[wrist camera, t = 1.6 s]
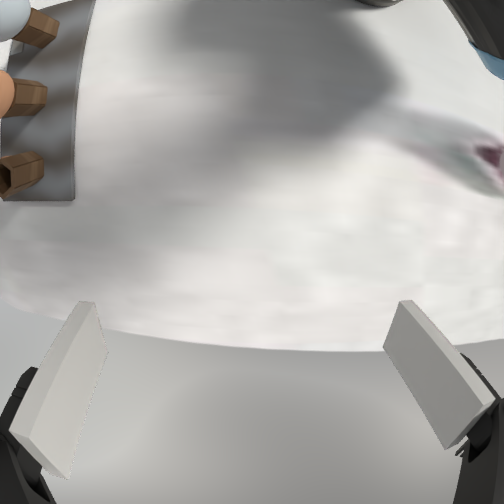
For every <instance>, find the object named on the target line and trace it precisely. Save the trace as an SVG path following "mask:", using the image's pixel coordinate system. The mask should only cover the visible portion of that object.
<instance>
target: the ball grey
mask: <svg viewBox="0 0 504 504" xmlns="http://www.w3.org/2000/svg"><path fill="white" fill-rule="evenodd" d="M30 12H31V5H30V2H29V0H0V42H3V41H7V40H9V39H11V38H13V37H14V36H15V35H17V34H18V33H19V32H20V31H21V30H22V29H23V27H24V26H25V25H26V23H27V21H28V19H29V16H30Z"/></svg>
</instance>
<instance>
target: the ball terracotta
mask: <svg viewBox="0 0 504 504" xmlns="http://www.w3.org/2000/svg"><path fill="white" fill-rule="evenodd" d="M14 92H15V88H14V83H13V80H12V78H11V76H10V75H9V74H8V73H6V72H5V71H2V70H0V119H1V118H2V117H3V116H4V115H5V114H6V112H7V111H8V110H9V108H10V106H11V104H12V101H13V98H14Z"/></svg>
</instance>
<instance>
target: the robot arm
mask: <svg viewBox="0 0 504 504" xmlns="http://www.w3.org/2000/svg"><path fill="white" fill-rule="evenodd" d="M356 1H359V2H361V3H364V4H368V5H372V6H379V7H385V6H392V5H395V4H397V3H399V2H401V1H402V0H356ZM443 1H444V3H445V4H446V5H447V7H448V8H449V10H450V11H451V12H452V14H453V15H454V17H455V18H456V20H457V21H458V23H459V25H460V26H461V28H462V29H463V31H464V33H465V34H466V36H467V38H468V41H469V43H470V45H471V46H472V47H473V48H474V49H475V50H476V52H477V53H478V55H479V57H480V58H481V60H482V62H483V64H484V65H485V67H486V68H487V69H488V70H489V71H490V72H491V73H492V74H494V75H495V76H497V77H498V78H500V79H502V80H504V0H443ZM383 348H384V350H385V351H386V353H387V354H388V356H389V358H390V359H391V361H392V362H393V364H394V365H395V367H396V369H397V370H398V372H399V373H400V375H401V377H402V378H403V380H404V381H405V383H406V385H407V386H408V388H409V389H410V391H411V393H412V394H413V396H414V398H415V399H416V401H417V403H418V404H419V406H420V408H421V409H422V411H423V413H424V414H425V416H426V417H427V420H428V421H429V423H430V425H431V426H432V428H433V430H434V432H435V434H436V435H437V437H438V439H439V440H440V442H441V444H442V446H443V448H444V450H446V449H448V448H450V447H452V446H454V445H456V444H458V443H459V442H460V441H461V440H462V439H463V438H464V437H465V436H466V435H467V437H468V440H467V441H466V442H465V443H464V444H463V445H462V446H461V447H460V448H459V450H457V451H456V454H455V456H457V455H458V454H459V453H461V451H463V450H464V452H463V453H462V454H461V455H460V457H463V459H462V465H461V470H460V475H459V480H458V485H457V489H456V493H455V498H454V501H453V504H504V398H503V399H501V397H500V396H499V395H498V394H497V392H496V391H495V390H494V389H493V387H492V386H491V385H490V383H489V382H488V381H487V380H486V378H485V377H484V376H483V375H481V374H482V373H481V372H480V371H479V370H478V369H476V368H477V367H476V366H475V365H474V364H473V362H472V361H471V360H470V359H469V358H467V357H466V356H465V355H463V354H461V353H459V352H458V351H457V350H456V348H455V347H454V346H453V345H452V344H451V343H450V341H449V340H448V339H447V338H446V337H445V336H444V335H443V333H442V332H441V331H440V330H439V329H438V328H437V327H436V326H435V324H434V323H433V322H432V321H431V320H430V319H429V318H428V317H427V316H426V314H425V313H424V312H423V311H422V310H421V309H420V308H419V307H418V306H417V305H416V304H415V303H414V302H413V300H406V301H399V304H398V307H397V310H396V313H395V316H394V318H393V321H392V324H391V327H390V329H389V332H388V335H387V337H386V340H385V342H384V345H383ZM107 355H108V351H107V347H106V344H105V341H104V337H103V333H102V329H101V326H100V322H99V318H98V314H97V310H96V306H95V302H81V301H79V302H78V303H77V305H76V306H75V308H74V310H73V311H72V313H71V314H70V316H69V317H68V319H67V321H66V322H65V324H64V326H63V327H62V329H61V330H60V332H59V334H58V336H57V337H56V339H55V341H54V342H53V344H52V346H51V347H50V349H49V351H48V353H47V354H46V356H45V358H44V360H43V361H42V363H41V365H40V367H39V368H35V367H30V368H29V369H28V370H27V371H26V372H25V373H23V374H22V375H21V377H20V379H19V381H18V383H17V385H16V388H14V390H13V392H12V396H11V397H10V398H9V400H8V402H7V404H6V406H5V408H4V410H3V412H2V414H1V416H0V504H56V502H55V500H54V498H53V496H52V494H51V492H50V490H49V488H48V486H47V484H46V482H45V480H44V478H43V476H42V475H41V473H40V472H41V469H42V467H43V468H44V469H45V470H46V471H47V472H48V473H49V474H51V475H54V476H57V477H60V478H64V479H67V480H69V476H70V472H71V468H72V464H73V460H74V456H75V453H76V449H77V445H78V442H79V438H80V435H81V431H82V428H83V425H84V421H85V418H86V415H87V411H88V409H89V405H90V402H91V399H92V396H93V394H94V390H95V388H96V384H97V382H98V379H99V376H100V374H101V371H102V368H103V365H104V362H105V360H106V357H107Z"/></svg>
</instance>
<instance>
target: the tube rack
mask: <svg viewBox="0 0 504 504" xmlns="http://www.w3.org/2000/svg"><path fill="white" fill-rule="evenodd" d="M95 1H96V0H72V1H68V2H64V3H60V4H57V5H53V6H50V7H46V8H43V9H40V10H36V9H34V8H31V12H30V16H29V19H28V21H27V23H26V25H25V26H24V27H23V29H22V30H21V31H20V32H19V33H18V34H17V35H15V36H14V37H13V38H11V39H13V42H12V46H11V51H10V56H9V61H8V67H7V73H8V74H9V75H10V76H11V78H12V80H13V83H14V88H15V92H14V98H13V101H12V104H11V106H10V108H9V110H8V111H7V112H6V114H5V115H4V116H3V117H2V119H1V159H0V197H1V198H2V199H3V201H72V200H74V199H75V192H74V141H75V121H76V108H77V98H78V89H79V81H80V73H81V67H82V60H83V54H84V49H85V44H86V39H87V34H88V29H89V25H90V21H91V17H92V13H93V9H94V5H95Z"/></svg>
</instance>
